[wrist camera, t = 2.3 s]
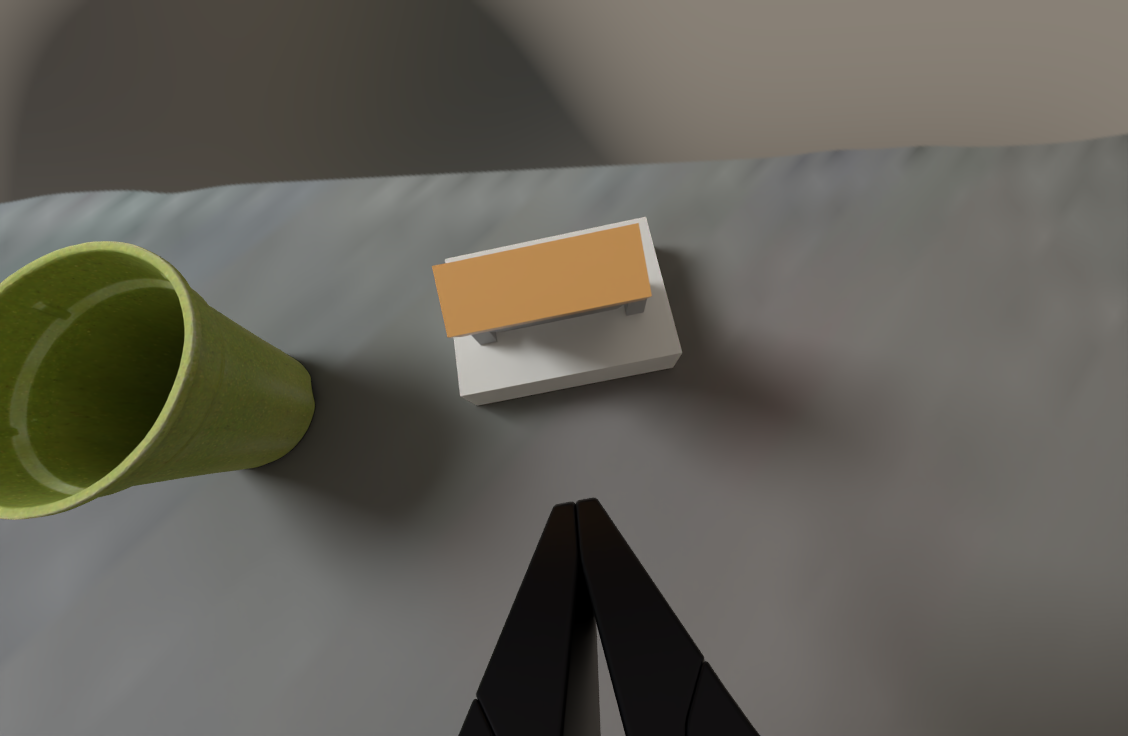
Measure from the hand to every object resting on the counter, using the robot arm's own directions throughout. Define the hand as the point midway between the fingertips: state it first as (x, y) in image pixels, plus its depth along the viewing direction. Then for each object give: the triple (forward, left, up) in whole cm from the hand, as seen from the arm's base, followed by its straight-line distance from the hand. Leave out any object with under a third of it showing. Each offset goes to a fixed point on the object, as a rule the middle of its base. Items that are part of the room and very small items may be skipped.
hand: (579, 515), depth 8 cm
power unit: (+6, -5, -12) cm, 14 cm away
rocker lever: (+6, -5, -8) cm, 12 cm away
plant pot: (+16, +8, -12) cm, 21 cm away
